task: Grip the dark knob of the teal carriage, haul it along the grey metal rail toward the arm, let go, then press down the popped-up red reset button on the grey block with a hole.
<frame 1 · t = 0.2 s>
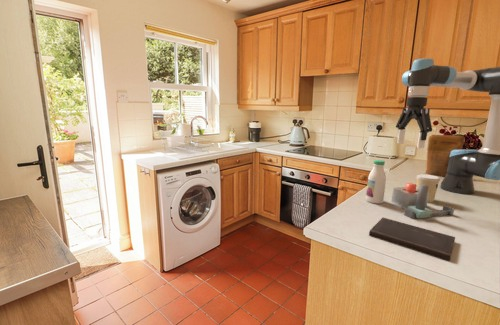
hand: (409, 145, 119), 28 cm above the worktop, fingers open, 13 cm apart
rail: (428, 215, 112), on the worktop
reset button: (410, 190, 122), point 7 cm above the worktop, slide at 0.0 cm
hardcover book: (410, 240, 91), on the worktop
grey block with hole: (408, 204, 123), on the worktop
coffee cup: (424, 200, 131), on the worktop
carriage: (421, 200, 109), point 7 cm above the worktop, slide at 0.0 cm
milk bottle: (374, 201, 127), on the worktop
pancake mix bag: (439, 176, 180), on the worktop
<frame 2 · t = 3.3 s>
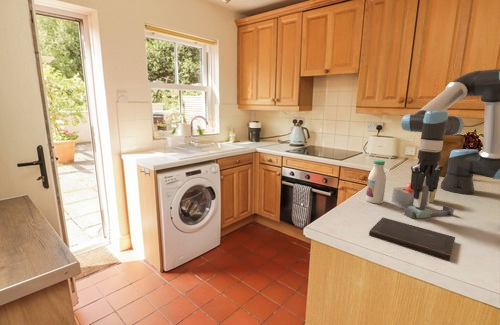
hand: (420, 205, 110), 5 cm above the worktop, fingers closed on carriage, 3 cm apart
carriage: (421, 200, 109), point 7 cm above the worktop, slide at 0.0 cm, touching gripper
everything else where it was.
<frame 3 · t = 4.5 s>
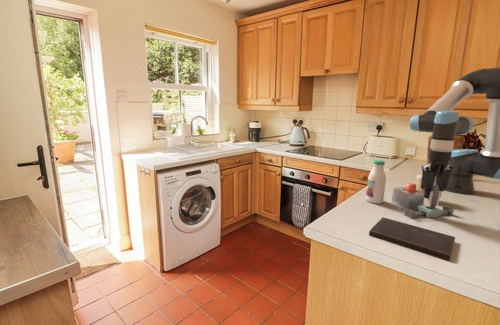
hand: (430, 205, 111), 5 cm above the worktop, fingers closed on carriage, 3 cm apart
carriage: (431, 200, 110), point 7 cm above the worktop, slide at 5.1 cm, touching gripper
everything else where it was.
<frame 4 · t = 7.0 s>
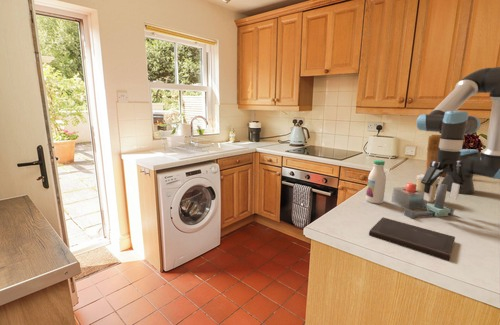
hand: (440, 199, 111), 7 cm above the worktop, fingers open, 13 cm apart
carriage: (440, 199, 111), point 7 cm above the worktop, slide at 9.5 cm
everything else where it was.
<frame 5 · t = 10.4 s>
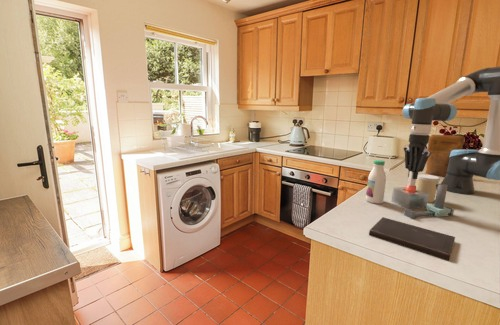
hand: (411, 185, 121), 10 cm above the worktop, fingers closed
reset button: (410, 191, 122), point 6 cm above the worktop, slide at -0.7 cm, touching gripper
everything else where it was.
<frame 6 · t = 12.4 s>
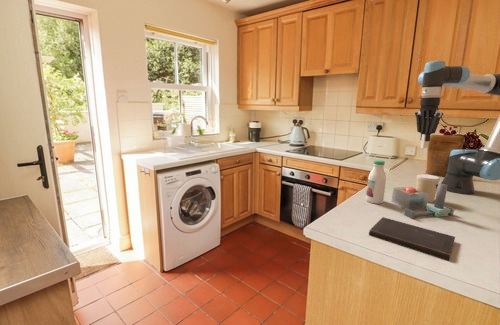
hand: (423, 147, 126), 26 cm above the worktop, fingers closed
reset button: (409, 194, 122), point 5 cm above the worktop, slide at -2.0 cm
everything else where it was.
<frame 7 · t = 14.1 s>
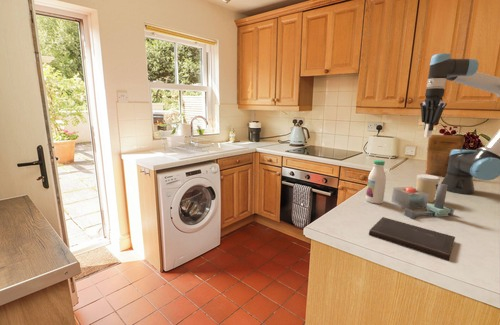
hand: (427, 137, 132), 30 cm above the worktop, fingers closed
nothing on the worktop moved.
at the end: carriage slide at 9.5 cm; reset button slide at -2.0 cm; the gripper is holding nothing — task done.
